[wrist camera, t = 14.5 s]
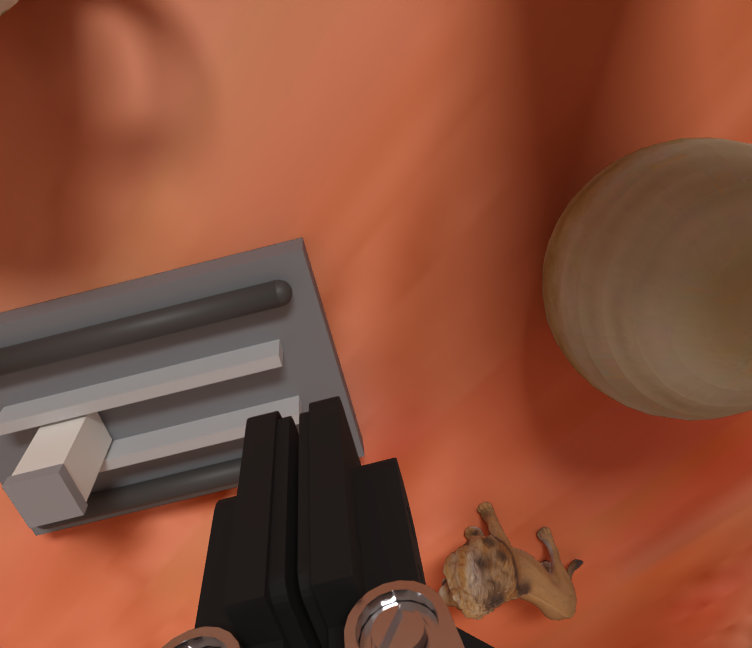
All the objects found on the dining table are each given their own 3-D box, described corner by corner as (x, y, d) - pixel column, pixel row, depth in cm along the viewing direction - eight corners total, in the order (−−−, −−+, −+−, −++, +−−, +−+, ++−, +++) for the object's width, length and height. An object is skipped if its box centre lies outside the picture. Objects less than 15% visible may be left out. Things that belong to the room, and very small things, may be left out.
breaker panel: (302, 237, 40) (302, 262, 37) (362, 438, 48) (366, 474, 44) (-73, 330, 41) (-108, 364, 37) (45, 515, 48) (25, 557, 45)
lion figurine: (414, 533, 53) (434, 631, 45) (445, 485, 51) (472, 579, 43) (563, 576, 57) (605, 673, 49) (598, 533, 55) (647, 627, 47)
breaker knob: (93, 401, 42) (58, 472, 36) (114, 440, 43) (83, 515, 37) (45, 413, 42) (1, 486, 36) (67, 451, 43) (29, 528, 37)
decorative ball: (511, 349, 46) (595, 501, 33) (508, 130, 39) (615, 210, 25) (721, 319, 46) (888, 456, 33) (757, 97, 39) (988, 159, 26)
